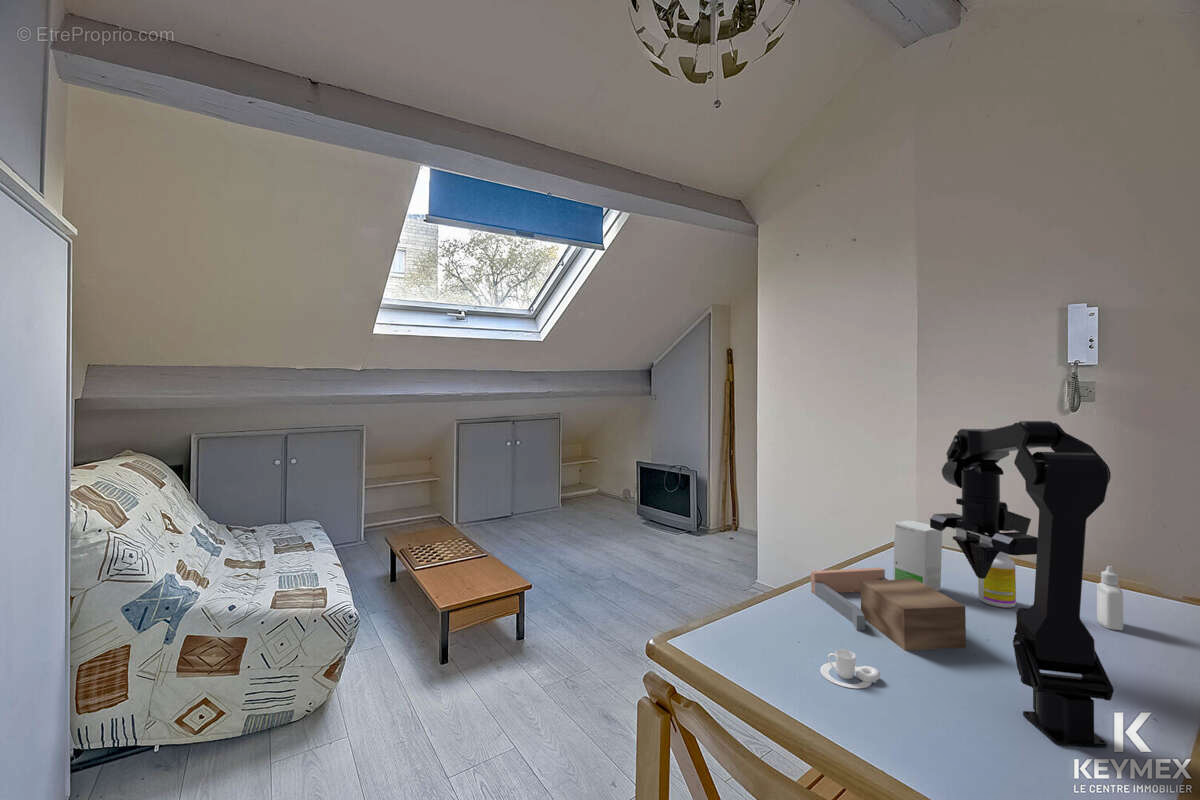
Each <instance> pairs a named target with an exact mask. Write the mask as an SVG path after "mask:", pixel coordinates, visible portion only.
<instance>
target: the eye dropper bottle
mask: <svg viewBox="0 0 1200 800" xmlns="http://www.w3.org/2000/svg"><path fill="white" fill-rule="evenodd" d="M1100 572H1101V573H1100V575H1101V576H1100V581H1101V582H1099V583H1097V585H1096V620H1097V623H1098V624H1099V625H1100V626H1102V627H1104V628H1105V629H1108V630H1113V631H1120V632H1122V631H1123V630H1124V593H1123V590H1122V588H1121V587H1120V586H1119V574H1118V573H1117V572H1114V569H1113V566H1111V565H1107V566H1106V568H1105V570H1103V571H1100Z"/></svg>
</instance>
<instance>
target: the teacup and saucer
mask: <svg viewBox="0 0 1200 800" xmlns="http://www.w3.org/2000/svg"><path fill="white" fill-rule="evenodd" d="M830 656H833V657H834V658H835V661H831V660H830ZM856 656H857V655H856V654H855V653H854V652H852V651H851V650H848V649H837V650H835V653H833V652H830V653H829V654H828V656H827V660H828V662H827V663H824V664H823V665H822V666H820V669H819V671H820V673H821V675H822V676H823V678H825V679H826V680H827V681H828V682H831V683H833V684H835V685H837V686H840V687H843V688H849V689H855V690H856V689H857V690H858V689H866V688H868V687H870V686H872V684H873V683H874V682H877V681H878V680H879V679H880V678H881V672H880V671H879V670H878V669H877V668H875V667H873V666H869V665H863V666H856V663H857V662H856V659H857V657H856ZM831 669H834V671H835V672H836V673H837V674H838V676H839V677H841V678H842V679H844V680H852V679H853V677H854V676H855V675H856V677H857V678H858V679H859V680H861V682H860V683H853V684H851V683H846V682H842V681H839V680H837V679H835V678H834V677H832V675H830V671H831Z"/></svg>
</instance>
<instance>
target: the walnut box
mask: <svg viewBox="0 0 1200 800" xmlns="http://www.w3.org/2000/svg"><path fill="white" fill-rule="evenodd" d="M860 609H861V611H862V613H863V614H864V616H865V622H867V623H868V624H869V625H871V626H872V627H873V628H874V629H876V630H877V631H879V632H880V633H881V634H882V635H884V636H885V637H886V638H887V639H889V640H890V641H891V642H893V643H894V644H895V645H896V646H898V647H899V648H901V649H902V650H903V651H919V650H920V651H921V650H922V651H924V650H923V649H925V650H944V649H946V650H947V649H961V648H962V649H963V648H964V649H966V647H967V640H966V639H967V638H966V636H967V634H966V633H967V632H966V626H967V625H966V621H967V620H966V616H967V615H966V605H963V604H962V603H960V602H958V601H957V600H954V599H953V598H950V597H949V596H947V595H945V594H943V593H942V592H941V591H936V590H934V589H932V588H930V587H928V586H926V585H925V584H923V583H921V582H919V581H917V580H915V579H900V580H893V579H888V580H876V581H861V591H860Z"/></svg>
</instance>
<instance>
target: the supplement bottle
mask: <svg viewBox="0 0 1200 800" xmlns="http://www.w3.org/2000/svg"><path fill="white" fill-rule="evenodd" d="M1009 556H1010V555H1009V554H1006V553H1003V552H999V553H998V555H997V556H996V558H995V559H994V561H993V563H992V565H991V568H990V570H989V572H988V574H987V576H986V578H984V579H981V578H978V577H977V578H978V579H977V580H978V581H977V582H978V587H977V588H978V599H979V601H981V602H983V603H984V604H987V605H990V606H993V607H997V608H1008V609H1009V608H1013V607H1015V606H1016V603H1017V598H1016V597H1017V595H1016V594H1017V591H1016V590H1017V588H1016V586H1017V585H1016V583H1017V582H1016V580H1017V578H1016V563H1015V560H1013V559H1012V558H1010V557H1009Z"/></svg>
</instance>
